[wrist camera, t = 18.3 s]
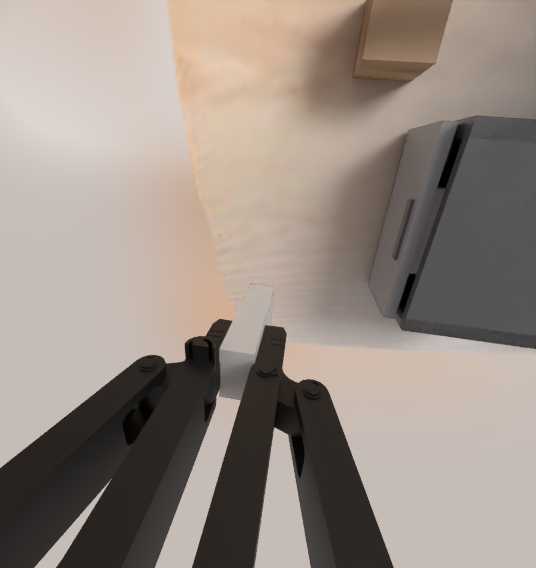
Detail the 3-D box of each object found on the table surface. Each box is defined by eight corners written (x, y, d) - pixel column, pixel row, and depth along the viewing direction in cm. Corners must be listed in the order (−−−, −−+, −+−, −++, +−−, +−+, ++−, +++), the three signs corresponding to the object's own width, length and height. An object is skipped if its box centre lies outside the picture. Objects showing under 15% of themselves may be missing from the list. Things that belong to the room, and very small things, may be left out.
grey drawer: (405, 130, 25) (439, 120, 18) (560, 141, 24) (655, 135, 17) (365, 284, 32) (380, 316, 25) (485, 299, 30) (532, 337, 24)
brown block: (365, 1, 22) (380, -39, 17) (430, 3, 21) (462, -38, 17) (352, 77, 24) (362, 59, 20) (411, 81, 24) (435, 63, 19)
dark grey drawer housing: (422, 129, 25) (476, 115, 17) (577, 140, 24) (716, 131, 16) (378, 286, 32) (401, 330, 24) (497, 301, 31) (564, 352, 23)
